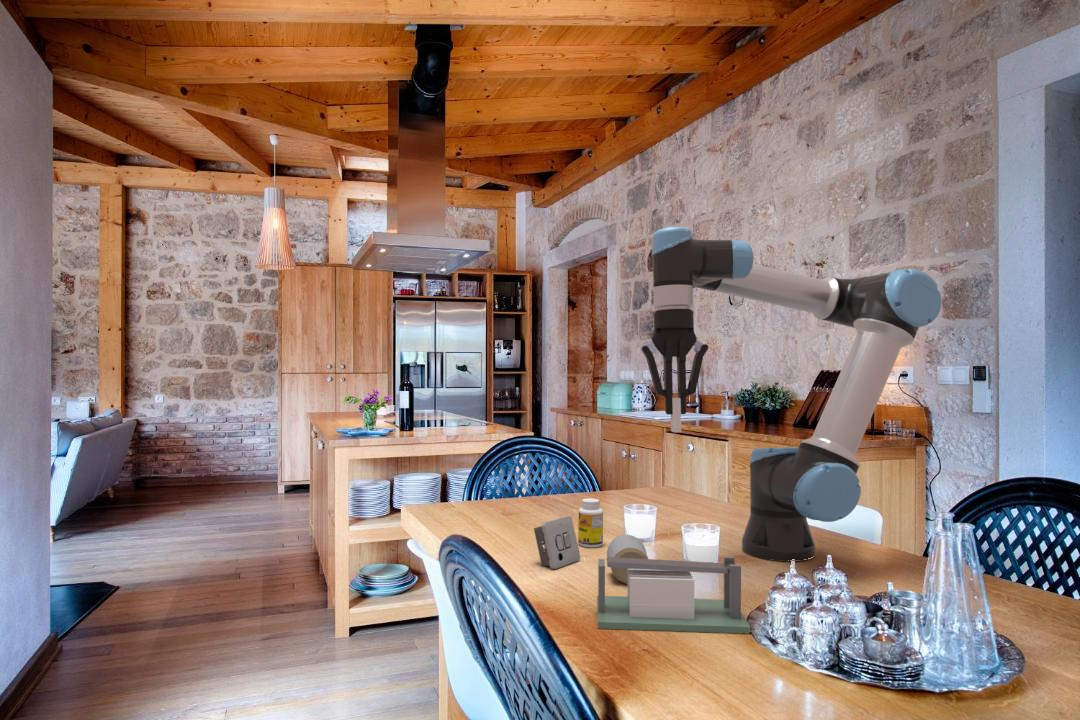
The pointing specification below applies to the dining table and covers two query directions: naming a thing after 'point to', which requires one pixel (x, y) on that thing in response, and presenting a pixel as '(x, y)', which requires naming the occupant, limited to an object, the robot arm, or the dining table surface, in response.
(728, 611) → the base
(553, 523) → the electrical switch
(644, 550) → the ceramic mug
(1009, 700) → the dining table surface
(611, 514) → the dining table surface
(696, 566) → the grey retaining bar
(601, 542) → the supplement bottle
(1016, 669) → the dining table surface
